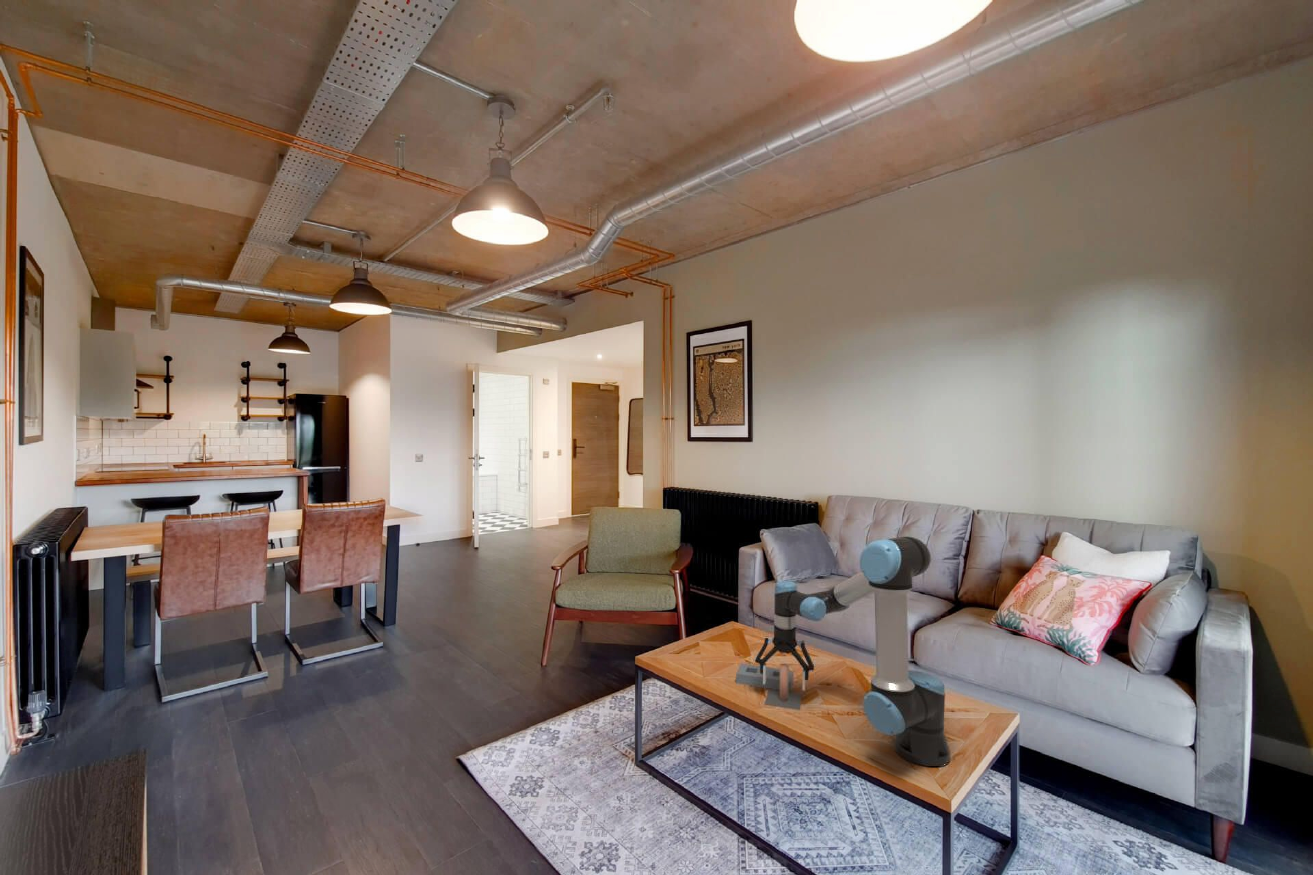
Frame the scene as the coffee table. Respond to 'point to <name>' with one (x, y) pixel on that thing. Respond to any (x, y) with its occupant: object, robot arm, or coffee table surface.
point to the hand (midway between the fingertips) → (783, 685)
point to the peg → (784, 682)
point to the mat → (774, 700)
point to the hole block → (761, 677)
